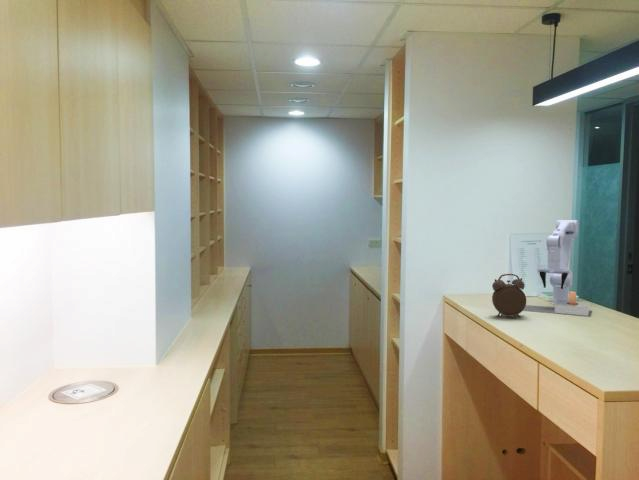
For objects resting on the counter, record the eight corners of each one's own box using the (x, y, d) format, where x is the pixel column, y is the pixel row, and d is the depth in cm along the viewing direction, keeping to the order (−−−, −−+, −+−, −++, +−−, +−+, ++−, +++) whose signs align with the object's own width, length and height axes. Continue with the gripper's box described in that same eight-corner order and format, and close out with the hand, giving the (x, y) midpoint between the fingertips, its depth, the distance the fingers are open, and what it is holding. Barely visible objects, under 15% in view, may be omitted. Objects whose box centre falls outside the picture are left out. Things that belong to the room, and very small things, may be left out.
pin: (569, 311, 250) (569, 291, 250) (576, 311, 249) (576, 291, 248) (568, 312, 248) (568, 292, 247) (575, 312, 246) (575, 292, 246)
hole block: (557, 308, 257) (557, 300, 257) (589, 310, 250) (590, 302, 250) (554, 313, 247) (554, 304, 246) (588, 316, 240) (588, 307, 239)
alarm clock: (522, 315, 246) (523, 272, 244) (526, 318, 239) (527, 275, 237) (490, 315, 247) (490, 272, 245) (493, 318, 240) (494, 275, 238)
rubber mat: (525, 305, 266) (525, 304, 265) (592, 311, 250) (592, 310, 250) (520, 311, 253) (520, 310, 253) (590, 317, 238) (590, 316, 238)
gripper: (536, 260, 255) (536, 288, 256) (569, 261, 248) (569, 290, 249) (538, 258, 261) (538, 286, 262) (571, 260, 254) (570, 288, 255)
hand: (553, 288), depth 256 cm, fingers open, 7 cm apart
